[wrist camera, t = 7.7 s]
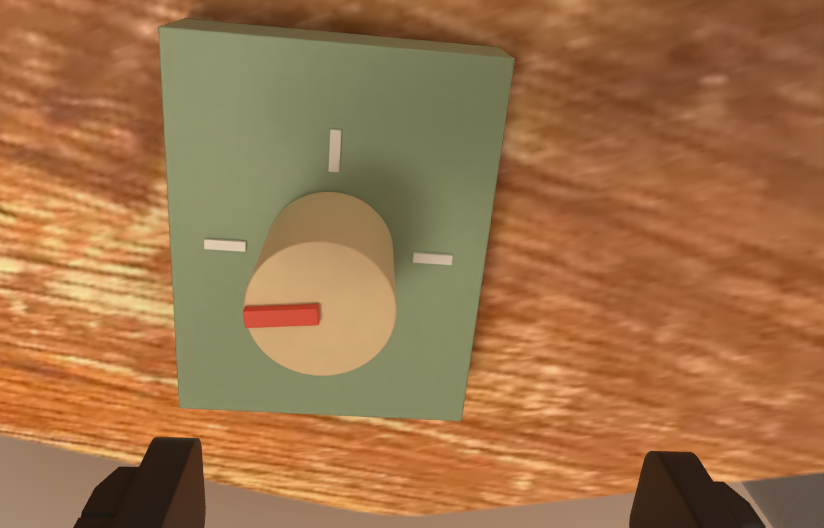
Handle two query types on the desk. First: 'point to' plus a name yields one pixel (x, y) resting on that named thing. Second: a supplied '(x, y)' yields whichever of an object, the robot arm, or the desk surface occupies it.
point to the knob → (323, 286)
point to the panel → (329, 172)
